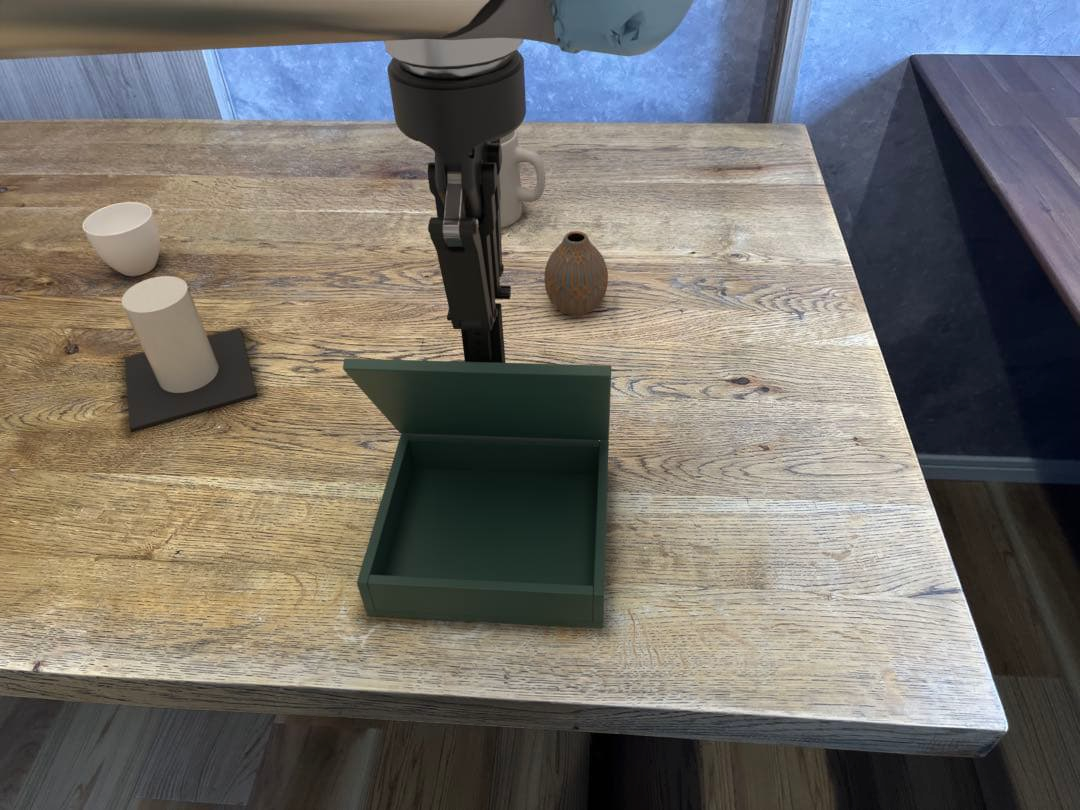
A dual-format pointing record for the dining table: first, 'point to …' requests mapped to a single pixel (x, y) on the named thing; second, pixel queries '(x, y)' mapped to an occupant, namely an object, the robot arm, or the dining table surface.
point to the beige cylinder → (171, 333)
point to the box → (491, 531)
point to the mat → (162, 406)
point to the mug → (517, 179)
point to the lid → (488, 397)
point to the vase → (576, 275)
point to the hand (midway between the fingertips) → (487, 380)
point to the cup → (125, 237)
